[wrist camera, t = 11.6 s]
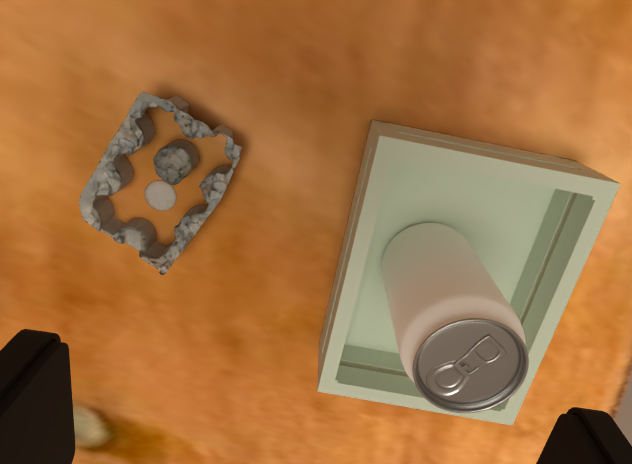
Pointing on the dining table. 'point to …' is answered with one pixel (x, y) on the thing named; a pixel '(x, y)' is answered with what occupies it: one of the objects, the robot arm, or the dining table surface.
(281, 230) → the dining table surface
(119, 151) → the egg carton
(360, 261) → the tray
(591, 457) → the robot arm
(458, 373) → the can
